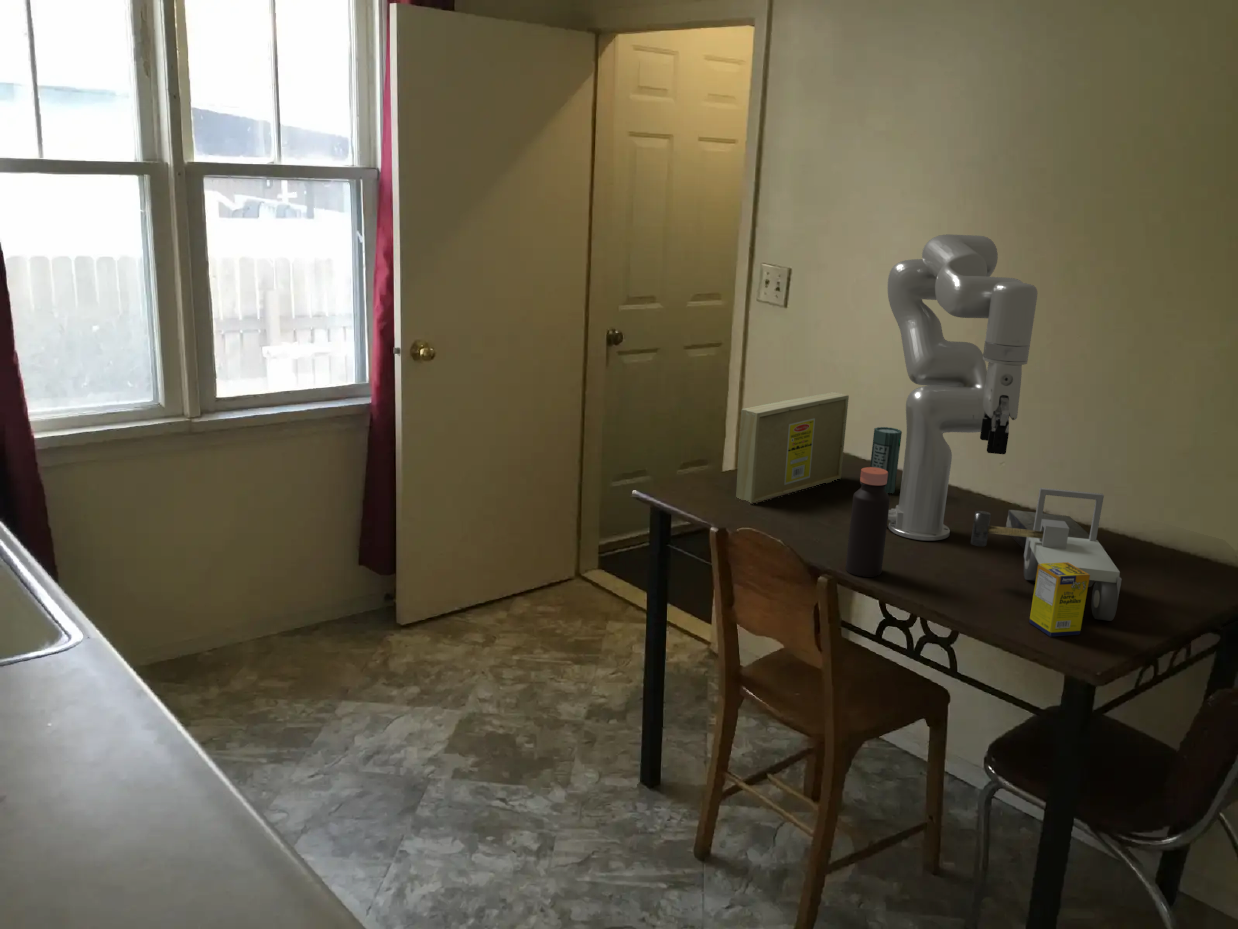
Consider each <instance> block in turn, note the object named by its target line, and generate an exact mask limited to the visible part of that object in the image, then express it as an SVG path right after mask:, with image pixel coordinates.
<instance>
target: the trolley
mask: <svg viewBox="0 0 1238 929" xmlns="http://www.w3.org/2000/svg"><path fill="white" fill-rule="evenodd" d="M1046 496H1053V497H1063V498H1075V499H1084V500H1095V502H1094V509H1093V513H1092V519H1091V526H1090V530H1089V534H1090V536H1089V539H1083V538H1073V537H1068V533H1069V527H1068V526H1067V524H1066V522H1065V521H1057V520H1047V519H1042V515H1043V513H1044V508H1045V500H1046ZM1104 497H1105V495H1104V494H1103V493H1099V492H1098V493H1097V492H1086V491H1077V490H1069V489H1068V490H1067V489H1057V488H1056V489H1055V488H1048V487H1047V488H1045V487H1039V492H1038V498H1037V503H1036V509H1035V510H1036V511H1035V513H1036V516H1035V522H1034V528H1033V530H1036V531H1044V533H1043V539H1040V538H1030V537H1027V539H1026V545H1025V550H1024V553H1023V577H1024V579H1025V580H1026V581H1033V582H1036V575H1037V569H1038V564H1041V563H1063V562H1068V563H1070V564H1072V565H1073V566H1075V567H1077V568H1079V569H1080V570H1082V571H1084V572H1086V573H1088V574H1089V575H1090V578H1089V584H1088V588H1091V587H1092V586H1093V589H1092V593H1091V614H1092V616H1093V618H1094V620H1101V621H1109V622H1110V621H1111V622H1112V621H1113V620H1114V618H1115V616H1116V613H1117V608H1118V602H1119V596H1120V595H1119V594H1120V590H1121V587H1122V586H1121V585H1122V580H1123V579H1122V577H1121V575H1120V573H1121V572H1120V570H1119V568H1118V567H1117V565H1115V563H1114V561H1113V560H1112V559H1111V557H1110V555H1108V553H1107V552H1106V549H1105V550H1104V549H1103V547H1104V546H1103V545H1102V544H1101V543H1100V542H1099V540H1098V539H1097V537H1098V531H1099V524H1100V520H1101V514H1102V507H1103V504H1104ZM1040 527H1041V528H1040ZM1101 545H1102V546H1103V547H1102V546H1101Z"/></svg>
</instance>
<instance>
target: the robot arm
mask: <svg viewBox="0 0 1238 929" xmlns="http://www.w3.org/2000/svg"><path fill="white" fill-rule="evenodd" d="M998 259H999V255H998V248H997V246H996V244H995V242H994V241H993V240H992V239H990V238H989V237H987V236H985V235H974V234H971V235H970V234H941V235H936V236H934V237H932V238H931V239H929V240H928V241H927V242H926V243H925V245H924V246H923V249H922V253H921V258H914V259H907V260H906V259H905V260H902V261H900V262H897V263H896V264H894V265H893V266H892V268H891V269H890V271H889V273H888V277H887V278H888V279H887V296H888V297H887V299H888V302H889V306H890V310H891V312H892V315H893V317H894V320H895V321H896V323H897V326H898V328H899V331H900V336H901V337H900V338H901V343H902V350H903V355H904V356H903V357H904V362H905V367H906V373H907V376H908V378H909V380H910V381H911V382H912V383H914V384H916V385H919V387H916V388H915V389H913V390H911V391H910V393H909V394H908V396H907V398H906V401H905V420H906V434H905V435H906V438H905V449H904V450H905V451H904V458H903V459H904V460H903V468H902V473H901V474H902V475H901V483H900V490H899V491H900V493H899V498H898V499H899V500H898V504H896V506H895V508H890V509H889V513H888V529H889V530H890V531H891V532H892V533H893V534H896V535H897V536H900V537H903V538H907V539H912V540H917V541H933V542H934V541H941V540H942V541H943V540H945V539H948V537H949V536H950V532H951V530H950V528H949V526H947V525H945V524H944V519H945V511H946V506H947V505H946V503H947V496H948V491H949V490H948V489H949V484H950V483H949V482H950V473H951V468H952V467H951V465H952V460H953V454H952V449H951V447H950V445H949V444H948V441H946V439H945V437H944V434H945V433H965V434H966V433H968V434H969V433H980V436H979V438H980V440H981V441H987V446H986V453H987V454H994V455H995V454H996V455H1006V453H1007V447H1008V442H1009V441H1008V440H1009V435H1010V432H1009V430H1010V419H1011V420H1012V421H1016V419H1017V418H1018V413H1019V403H1020V396H1021V385H1022V372H1023V371H1022V368H1023V367H1022V365H1024V366H1025V365H1028V361H1029V354H1030V348H1031V341H1032V336H1033V335H1032V334H1033V327H1034V321H1035V314H1036V309H1037V308H1036V306H1037V300H1038V289H1037V287H1036V286H1035V285H1033V284H1031V283H1027V282H1023V281H1022V280H1020V279H1018V278H1015V277H1007V276H1006V277H1003V276H1001V277H999V276H992V274H993V272H995V269H996V267H997V264H998ZM923 300H929V301H930V300H932V301H937V303H938V305H939V306H940V307H941V308H942V309H943V310H944V311H945V312H946V313H948V314H949V315H951V316H953V317H955V318H961V319H964V318H965V319H987V324H986V332H985V340H984V346H983V351H982V350H981V349H980V347H978V346H977V345H976V344H974V343H972V342H967V341H951V340H948V339H945V337H944V333H943V326H942V323H941V321H940V319H939V317H938V316H937V314H935V312H934V311H933V310H932V309H931V308H930V307H929V306H928V305H927V304H925V303H924V301H923ZM986 362H988V364H986Z"/></svg>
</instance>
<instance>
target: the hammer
mask: <svg viewBox="0 0 1238 929" xmlns="http://www.w3.org/2000/svg"><path fill="white" fill-rule="evenodd" d="M991 516H992V513H990V512H989V511H985V510H976V511H974V516H973V524H972V531H971V538H970V544H971V545H973V546H976V547H985V546H987V544H988V538H989V534H993V535H1003V536H1010V535H1011V536H1020V537H1030V538H1040V539H1043V533H1044V531H1036V530H1027V529H1017V528H1007V527H1006V526H996V525H990V523H991ZM1011 536H1010V537H1011Z"/></svg>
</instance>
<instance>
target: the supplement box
mask: <svg viewBox="0 0 1238 929" xmlns="http://www.w3.org/2000/svg"><path fill="white" fill-rule="evenodd" d="M1089 578H1090V575H1089V574H1088V573H1086V572H1084V571H1082V570H1080V569H1079V568H1077V567H1075V566H1073V565H1072V564H1070V563H1068V562H1063V563H1041V564H1038V569H1037V575H1036V581H1034V583H1035V584H1034V589H1033V595H1032V602H1031V610H1030V614H1029V615H1030V616H1029V621H1028V622H1029V623H1030V624H1031V625H1032V626H1034V627H1035V628H1036V629H1039V630H1040V631H1041V632H1043V633H1044V634H1046V635H1047V636H1048V637H1063V636H1079V635H1080V634H1081V631H1082V630H1081V629H1082V624H1083V619H1084V618H1083V617H1084V611H1085V607H1086V606H1085V605H1086V599H1087V595H1088V588H1089V587H1088V584H1089Z"/></svg>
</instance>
